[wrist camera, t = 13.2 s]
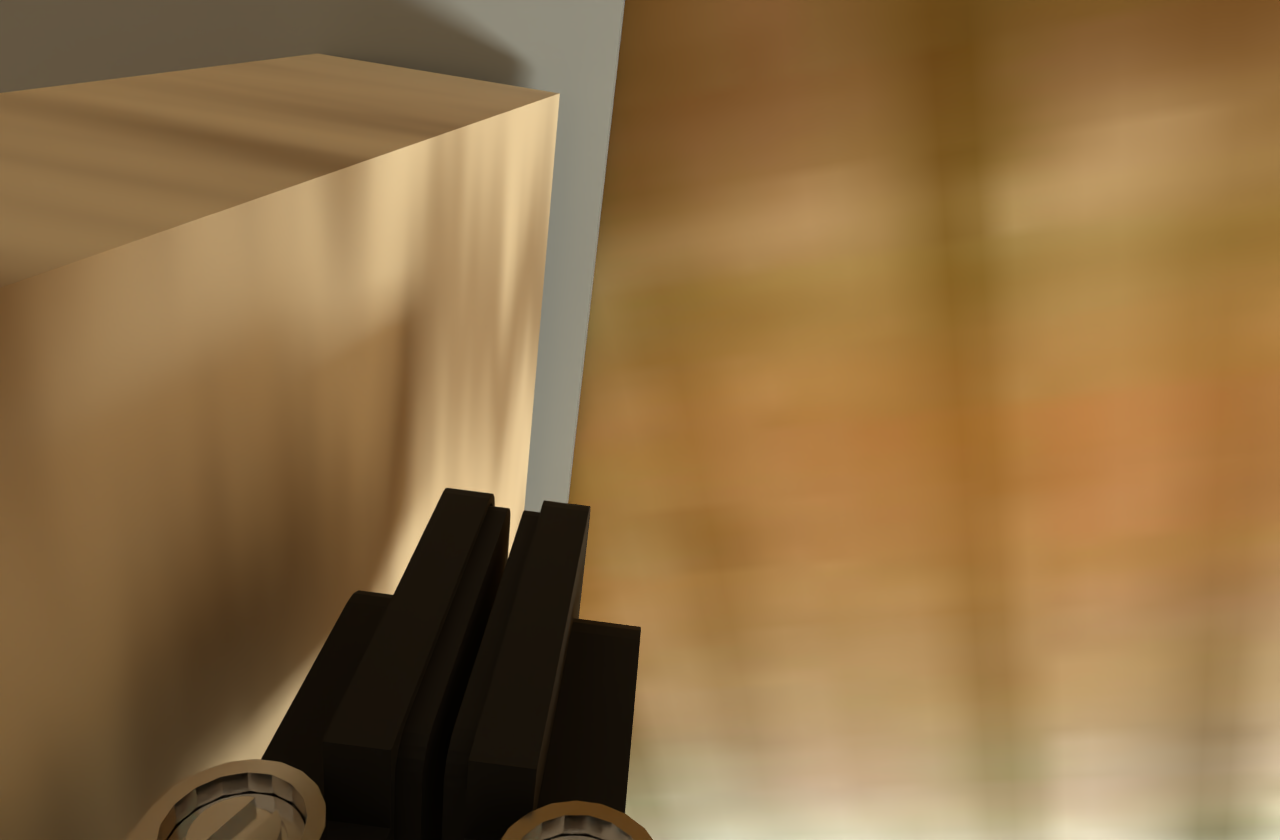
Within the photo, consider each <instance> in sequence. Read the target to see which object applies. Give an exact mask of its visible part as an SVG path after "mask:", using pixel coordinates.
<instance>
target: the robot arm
mask: <svg viewBox="0 0 1280 840" xmlns="http://www.w3.org/2000/svg"><path fill="white" fill-rule="evenodd" d="M510 517H511V513H510V508H503V507H496V506H495V497H494V494H492V493H484V492H477V491H469V490H461V489H454V488H445V490H444V491H443V493H442V495H441V497H440V499H439V501H438V503H437V505H436V507H435V509H434V511H433V514H432V516H431V518H430V520H429V522H428V524H427V526H426V528H425V530H424V532H423V534H422V536H421V538H420V540H419V543H418V545H417V547H416V549H415V551H414V553H413V555H412V557H411V559H410V561H409V563H408V565H407V567H406V569H405V572H404V574H403V576H402V578H401V580H400V582H399V584H398V586H397V588H396V590H395V592H394V594H393V595H391V594H384V593H376V592H368V591H361V590H358V591H356V592H355V593H353V594H352V596H351V597H350V599H349V600H348V602H347V603H346V605H345V607H344V609H343V611H342V612H341V614H340V616H339V618H338V620H337V622H336V623H335V625H334V627H333V629H332V631H331V632H330V634H329V636H328V638H327V640H326V642H325V643H324V645H323V647H322V649H321V651H320V652H319V654H318V656H317V658H316V660H315V662H314V663H313V665H312V667H311V669H310V671H309V672H308V674H307V676H306V678H305V680H304V682H303V683H302V685H301V687H300V689H299V691H298V693H297V694H296V696H295V698H294V700H293V702H292V703H291V705H290V707H289V709H288V711H287V713H286V714H285V716H284V718H283V720H282V722H281V723H280V725H279V727H278V729H277V731H276V733H275V734H274V736H273V738H272V740H271V742H270V744H269V745H268V747H267V749H266V751H265V753H264V754H263V756H262V758H261V760H260V759H250V760H241V761H232V762H226V763H223V764H220V765H217V766H214V767H211V768H208V769H204V770H201V771H199V772H197V773H196V774H194V775H192V776H190V777H189V778H187V779H185V780H183V781H182V782H180V783H178V784H176V785H175V786H173V787H172V788H171V789H170V790H169V791H168V792H167V793H166V794H165V795H164V796H162V797H161V798H160V799H159V800H158V801H157V802H156V803H155V804H154V805H153V806H152V807H151V808H150V809H149V811H148V812H147V813H146V814H145V815H144V816H143V818H142V819H141V820H140V821H139V822H138V823H137V825H136V826H135V827H134V828H133V829H132V830H131V832H130V833H129V834H128V835H127V836H126V837H125V839H124V840H653V839H652V838H651V837H650V835H649V834H648V832H647V831H646V830H645V829H644V828H643V827H642V826H641V825H639V824H638V823H637V822H635V821H634V820H633V819H631V818H630V817H629V816H628V815H626V814H625V805H626V794H627V782H628V771H629V759H630V748H631V737H632V725H633V714H634V702H635V691H636V680H637V668H638V657H639V645H640V633H641V627H637V626H629V625H621V624H614V623H606V622H598V621H591V620H583V619H579V610H580V601H581V592H582V583H583V574H584V565H585V556H586V547H587V537H588V528H589V519H590V506H584V505H576V504H569V503H561V502H553V501H546V500H544V501H543V504H542V507H541V511H540V512H534V511H526V510H524V511H523V513H522V516H521V519H520V523H519V526H518V529H517V532H516V535H515V538H514V541H513V544H512V548H511V551H510V554H509V557H508V548H509V533H510Z"/></svg>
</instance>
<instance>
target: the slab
mask: <svg viewBox="0 0 1280 840" xmlns="http://www.w3.org/2000/svg"><path fill="white" fill-rule="evenodd" d="M559 97H560V93H554V92H548V91H542V90H536V89H530V88H524V87H518V86H512V85H506V84H500V83H494V82H488V81H482V80H476V79H470V78H464V77H457V76H451V75H445V74H439V73H433V72H427V71H421V70H415V69H409V68H403V67H397V66H391V65H385V64H379V63H373V62H367V61H360V60H354V59H348V58H342V57H336V56H330V55H324V54H318V53H317V54H309V55H301V56H293V57H285V58H277V59H269V60H261V61H253V62H245V63H237V64H229V65H221V66H213V67H205V68H197V69H189V70H181V71H173V72H165V73H157V74H149V75H141V76H133V77H125V78H117V79H109V80H101V81H93V82H85V83H77V84H69V85H61V86H53V87H45V88H37V89H29V90H21V91H13V92H5V93H0V840H124V839H125V837H126V836H127V835H128V834H129V833H130V832H131V830H132V829H133V828H134V827H135V826H136V825H137V823H138V822H139V821H140V820H141V819H142V818H143V816H144V815H145V814H146V813H147V812H148V811H149V809H150V808H151V807H152V806H153V805H154V804H155V803H156V802H157V801H158V800H159V799H160V798H161V797H162V796H164V795H165V794H166V793H167V792H168V791H169V790H170V789H171V788H172V787H173V786H175V785H176V784H178V783H180V782H182V781H183V780H185V779H187V778H189V777H190V776H192V775H194V774H196V773H197V772H199V771H201V770H204V769H208V768H211V767H214V766H217V765H220V764H223V763H226V762H232V761H241V760H250V759H260V760H261V758H262V756H263V754H264V753H265V751H266V749H267V747H268V745H269V744H270V742H271V740H272V738H273V736H274V734H275V733H276V731H277V729H278V727H279V725H280V723H281V722H282V720H283V718H284V716H285V714H286V713H287V711H288V709H289V707H290V705H291V703H292V702H293V700H294V698H295V696H296V694H297V693H298V691H299V689H300V687H301V685H302V683H303V682H304V680H305V678H306V676H307V674H308V672H309V671H310V669H311V667H312V665H313V663H314V662H315V660H316V658H317V656H318V654H319V652H320V651H321V649H322V647H323V645H324V643H325V642H326V640H327V638H328V636H329V634H330V632H331V631H332V629H333V627H334V625H335V623H336V622H337V620H338V618H339V616H340V614H341V612H342V611H343V609H344V607H345V605H346V603H347V602H348V600H349V599H350V597H351V596H352V594H353V593H355V592H356V591H358V590H361V591H368V592H376V593H384V594H391V595H393V594H394V592H395V590H396V588H397V586H398V584H399V582H400V580H401V578H402V576H403V574H404V572H405V569H406V567H407V565H408V563H409V561H410V559H411V557H412V555H413V553H414V551H415V549H416V547H417V545H418V543H419V540H420V538H421V536H422V534H423V532H424V530H425V528H426V526H427V524H428V522H429V520H430V518H431V516H432V514H433V511H434V509H435V507H436V505H437V503H438V501H439V499H440V497H441V495H442V493H443V491H444V490H445V488H454V489H461V490H469V491H477V492H484V493H492V494H494V497H495V506H496V507H503V508H510V513H511V517H510V533H509V548H508V557H509V554H510V551H511V548H512V544H513V541H514V538H515V535H516V532H517V529H518V526H519V523H520V519H521V516H522V513H523V511H524V507H525V496H526V484H527V472H528V460H529V449H530V437H531V425H532V414H533V402H534V390H535V378H536V367H537V355H538V343H539V332H540V320H541V308H542V296H543V285H544V273H545V261H546V250H547V238H548V226H549V214H550V203H551V191H552V179H553V168H554V156H555V144H556V132H557V121H558V109H559Z"/></svg>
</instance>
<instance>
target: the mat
mask: <svg viewBox="0 0 1280 840" xmlns="http://www.w3.org/2000/svg"><path fill="white" fill-rule="evenodd" d="M624 4H625V0H0V93H5V92H13V91H21V90H29V89H37V88H45V87H53V86H61V85H69V84H77V83H85V82H93V81H101V80H109V79H117V78H125V77H133V76H141V75H149V74H157V73H165V72H173V71H181V70H189V69H197V68H205V67H213V66H221V65H229V64H237V63H245V62H253V61H261V60H269V59H277V58H285V57H293V56H301V55H309V54H317V53H318V54H324V55H330V56H336V57H342V58H348V59H354V60H360V61H367V62H373V63H379V64H385V65H391V66H397V67H403V68H409V69H415V70H421V71H427V72H433V73H439V74H445V75H451V76H457V77H464V78H470V79H476V80H482V81H488V82H494V83H500V84H506V85H512V86H518V87H524V88H530V89H536V90H542V91H548V92H554V93H560V97H559V109H558V121H557V132H556V144H555V156H554V168H553V179H552V191H551V203H550V214H549V226H548V238H547V250H546V261H545V273H544V285H543V296H542V308H541V320H540V332H539V343H538V355H537V367H536V378H535V390H534V402H533V414H532V425H531V437H530V449H529V460H528V472H527V484H526V496H525V507H524V510H526V511H534V512H540V511H541V507H542V504H543V501H544V500H546V501H553V502H561V503H568V499H569V490H570V481H571V472H572V463H573V455H574V446H575V437H576V428H577V419H578V410H579V402H580V393H581V384H582V375H583V366H584V357H585V349H586V340H587V331H588V322H589V313H590V304H591V296H592V287H593V278H594V269H595V260H596V251H597V243H598V234H599V225H600V216H601V207H602V198H603V190H604V181H605V172H606V163H607V154H608V145H609V137H610V128H611V119H612V110H613V101H614V92H615V84H616V75H617V66H618V57H619V48H620V39H621V31H622V22H623V13H624Z"/></svg>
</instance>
